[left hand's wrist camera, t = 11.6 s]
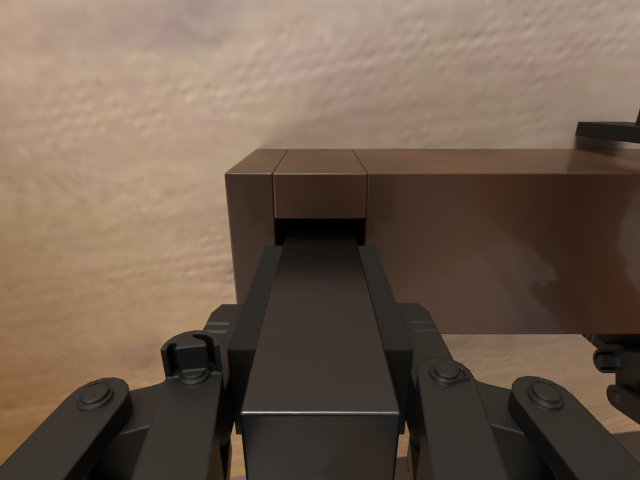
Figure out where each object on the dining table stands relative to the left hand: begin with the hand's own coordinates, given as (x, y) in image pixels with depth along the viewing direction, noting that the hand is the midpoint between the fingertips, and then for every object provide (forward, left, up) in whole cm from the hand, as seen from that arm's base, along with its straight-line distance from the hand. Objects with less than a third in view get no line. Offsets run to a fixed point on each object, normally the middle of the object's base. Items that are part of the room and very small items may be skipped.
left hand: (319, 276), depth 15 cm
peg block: (+8, 0, -10) cm, 12 cm away
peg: (0, 0, -4) cm, 4 cm away
